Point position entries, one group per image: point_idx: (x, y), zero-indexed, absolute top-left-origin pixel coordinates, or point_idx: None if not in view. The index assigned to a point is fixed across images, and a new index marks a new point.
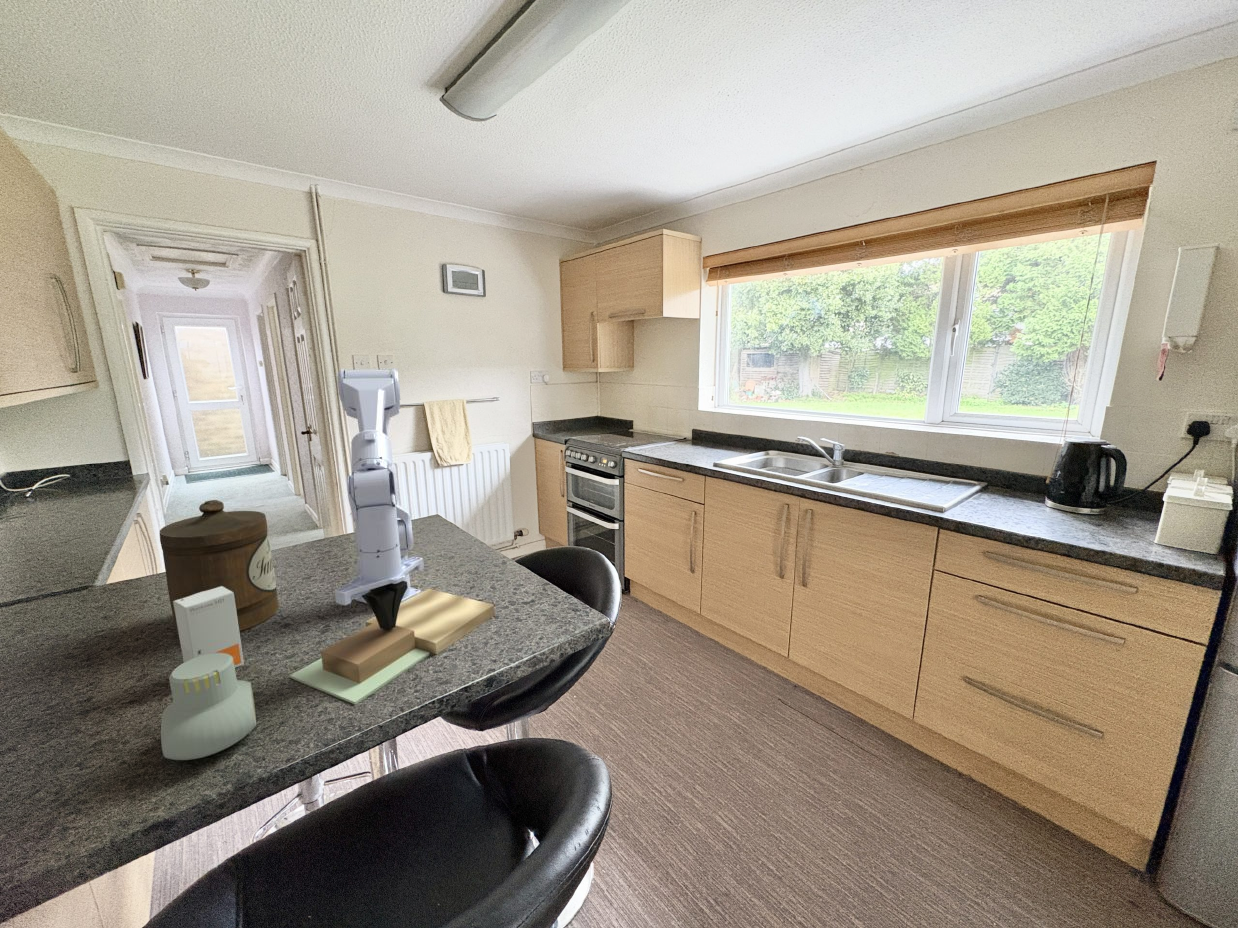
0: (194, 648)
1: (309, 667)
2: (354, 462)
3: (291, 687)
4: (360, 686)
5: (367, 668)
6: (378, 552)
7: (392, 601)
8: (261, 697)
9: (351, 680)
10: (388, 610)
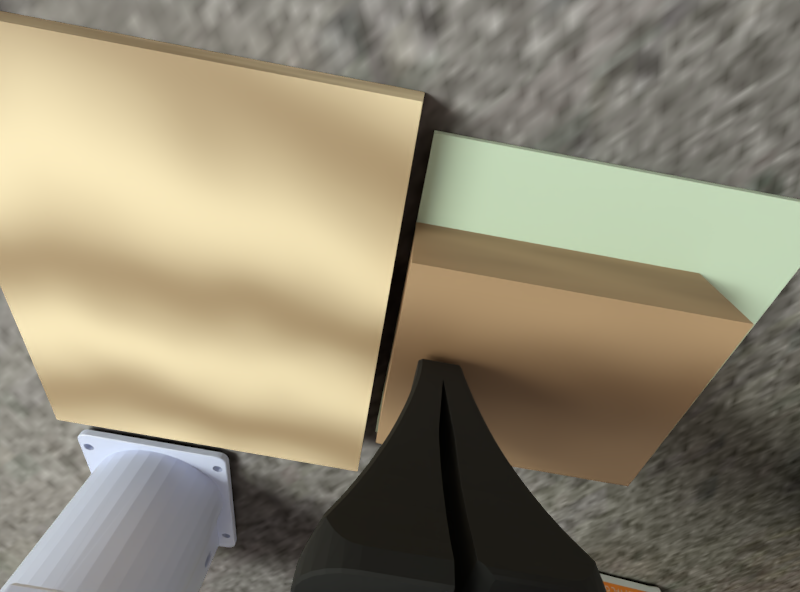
0: None
1: None
2: None
3: (682, 442)
4: (721, 259)
5: (680, 289)
6: None
7: (468, 491)
8: (726, 473)
9: None
10: (485, 451)
